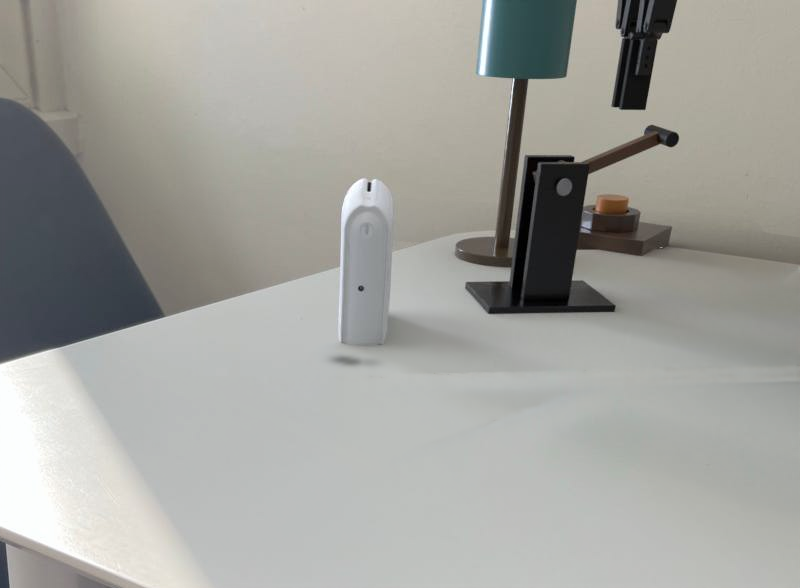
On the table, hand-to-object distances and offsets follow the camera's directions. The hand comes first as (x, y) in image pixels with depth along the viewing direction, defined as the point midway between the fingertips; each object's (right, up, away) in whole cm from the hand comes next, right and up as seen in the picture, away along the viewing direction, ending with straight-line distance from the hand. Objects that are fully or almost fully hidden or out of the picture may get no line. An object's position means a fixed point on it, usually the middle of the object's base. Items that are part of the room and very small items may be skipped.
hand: (628, 107), depth 109 cm
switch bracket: (-13, -26, -14) cm, 32 cm away
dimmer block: (0, -12, +8) cm, 14 cm away
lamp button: (0, -9, +6) cm, 11 cm away
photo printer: (-30, -32, -22) cm, 49 cm away
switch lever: (-8, -17, -20) cm, 27 cm away
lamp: (-14, -17, +1) cm, 22 cm away
